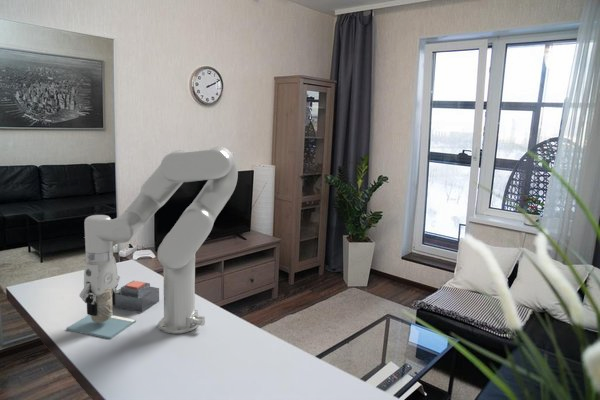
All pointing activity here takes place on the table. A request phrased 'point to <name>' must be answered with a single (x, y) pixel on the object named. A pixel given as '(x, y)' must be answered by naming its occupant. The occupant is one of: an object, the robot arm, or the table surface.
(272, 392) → the table surface
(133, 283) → the button
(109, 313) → the carving
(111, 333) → the mat
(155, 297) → the breaker box
